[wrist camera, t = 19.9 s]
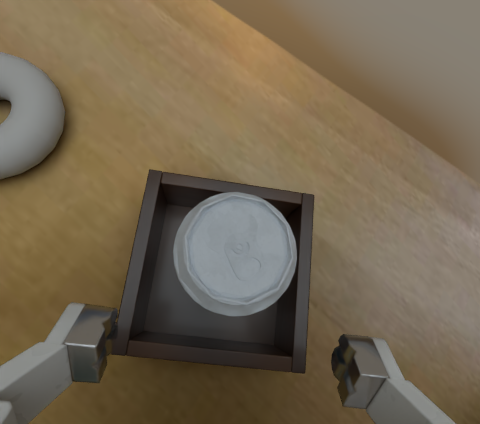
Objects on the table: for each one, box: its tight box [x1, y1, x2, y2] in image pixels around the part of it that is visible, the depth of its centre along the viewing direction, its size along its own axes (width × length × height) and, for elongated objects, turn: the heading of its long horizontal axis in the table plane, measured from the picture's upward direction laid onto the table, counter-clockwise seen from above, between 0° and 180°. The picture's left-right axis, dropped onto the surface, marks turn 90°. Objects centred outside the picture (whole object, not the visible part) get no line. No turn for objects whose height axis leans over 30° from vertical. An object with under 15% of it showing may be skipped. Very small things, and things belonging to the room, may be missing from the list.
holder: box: [111, 170, 314, 374], centre depth 21 cm, size 11×11×5 cm
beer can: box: [173, 192, 297, 316], centre depth 17 cm, size 5×5×12 cm
